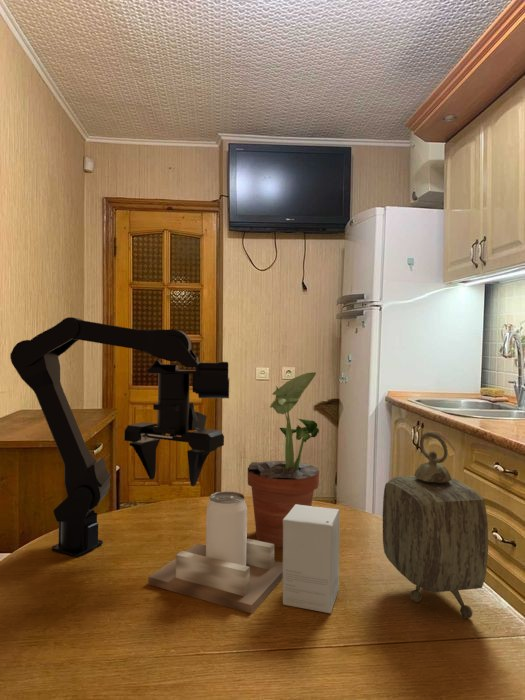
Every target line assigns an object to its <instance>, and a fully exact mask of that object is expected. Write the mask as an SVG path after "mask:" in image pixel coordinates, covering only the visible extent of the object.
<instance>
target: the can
mask: <svg viewBox="0 0 525 700" xmlns="http://www.w3.org/2000/svg"><path fill="white" fill-rule="evenodd" d="M245 498H246V497H245V495H244V494H243V493H240V492H237V491H219V492H214V493H212V494H211V495H210V496H209V501H208V503H207V505H206V525H205V527H206V529H205V530H206V533H205V534H206V535H205V545H206V557H210V558H214V559H219V560H223V561H227V562H231V563H235V564H240V565H244V566H246V547H247V537H248V536H247V534H248V505H247V503H246V502H245Z"/></svg>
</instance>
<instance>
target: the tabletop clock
mask: <svg viewBox="0 0 525 700" xmlns="http://www.w3.org/2000/svg"><path fill="white" fill-rule="evenodd" d="M427 437H429V438H433V439H435V440H437V441H438V442H439V443H440V445H441V447H442V449H443V456H442V457H441V458H438V457H437V456H438V454H437V452H436V451H430V452H429V453H428V452H427V450H425V448H424V447H425V446H424V441H425V439H426V438H427ZM419 445H420V451H421V453H422V454H423V456H424V457H425V458H426V459H427V460H429V462H424V463H421V464H420V465H419V466H418V467H417V468H416V469H415V472H414V474H413V475H398V476H394V477H393V478H391V479H390V480H389V481H387V482H386V483H385V485H384V490H383V498H382V499H383V502H382V546H383V553H384V556H386V558H387V561H389V562H390V564H392V565H393V567H394V569H396V570H397V571H398V572H399V573H400V574H401V575H402V576H403V577H404V578H405V579H407V580H408V581H409V582H410V583H412V584H413V585H414V586H415V589H413V590H411V592H410V594H409V595H410V599H411V601H413V602H415V603H419V602H421V600H422V597H423V596H422V593H421V591H420V590H421V589H423V590H425V591H427V592H429V593H443V592H446V593H447V592H450V593H451V594H452V595H453V596H454V598H455V599H456V601H457V602H458V604H459V605H460V609H459V612H460V615H461V617H463V618H465V619H470V618H472V616H473V610H472V608H471V607H470V606H468V605H465V603H464V600H463V599H462V596H461V594H460V591H464V590H474V589H475V590H476V589H482V588H483V587H484V584H485V580H486V576H487V568H488V556H489V530H488V529H489V527H488V525H489V524H488V514H487V508H486V503H485V500H484V498H483V497H482V496H481V494H480V493H478V492H477V490H475V489H474V488H472V487H470V486H469V485H467V484H465V483H464V482H463V481H460V480H459V479H456V478H453V477H452V476H451V474H450V472H449V470H448V469H447V468H446V467H445V466H444V465H443V464H441V463H444V461H446V460H447V458H448V453H449V452H448V446H447V444H446V442H445V440H444V439H443V438H442V436H440V435H439V434H437V433H435V432H429V431H426V432H425V433H423V435H421V437H420V441H419Z"/></svg>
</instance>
